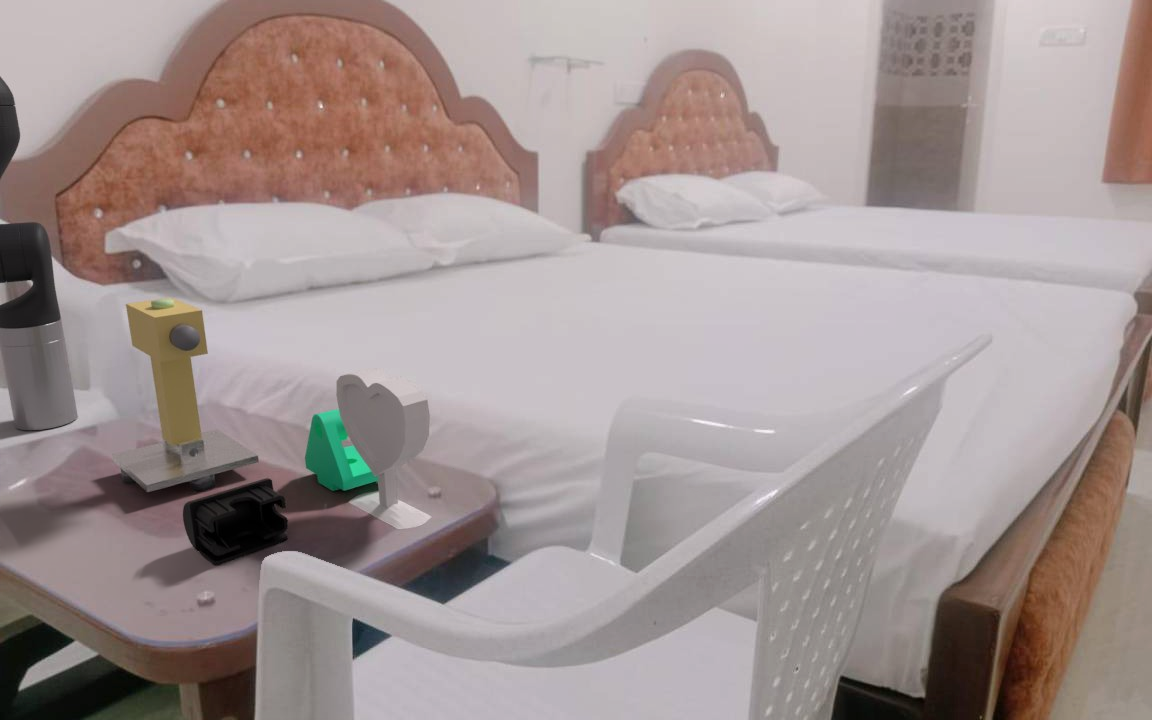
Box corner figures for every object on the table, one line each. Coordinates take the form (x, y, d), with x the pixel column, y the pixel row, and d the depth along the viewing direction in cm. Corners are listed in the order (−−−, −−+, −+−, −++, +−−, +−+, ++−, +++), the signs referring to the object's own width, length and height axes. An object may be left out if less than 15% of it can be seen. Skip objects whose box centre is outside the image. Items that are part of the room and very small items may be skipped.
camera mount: (396, 482, 122) (389, 411, 120) (344, 498, 118) (336, 424, 115) (356, 461, 131) (349, 394, 129) (306, 475, 127) (298, 405, 124)
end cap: (266, 521, 113) (260, 471, 111) (293, 539, 108) (287, 487, 106) (186, 548, 106) (178, 495, 104) (211, 569, 101) (203, 514, 99)
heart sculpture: (340, 497, 119) (328, 368, 114) (372, 486, 123) (362, 360, 118) (407, 534, 109) (398, 393, 104) (441, 521, 112) (433, 384, 107)
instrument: (141, 429, 130) (120, 296, 124) (183, 419, 134) (165, 289, 128) (180, 459, 118) (159, 313, 113) (225, 447, 122) (206, 306, 117)
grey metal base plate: (114, 474, 128) (108, 434, 126) (220, 447, 138) (215, 410, 136) (149, 506, 117) (142, 464, 116) (261, 475, 127) (256, 435, 125)
